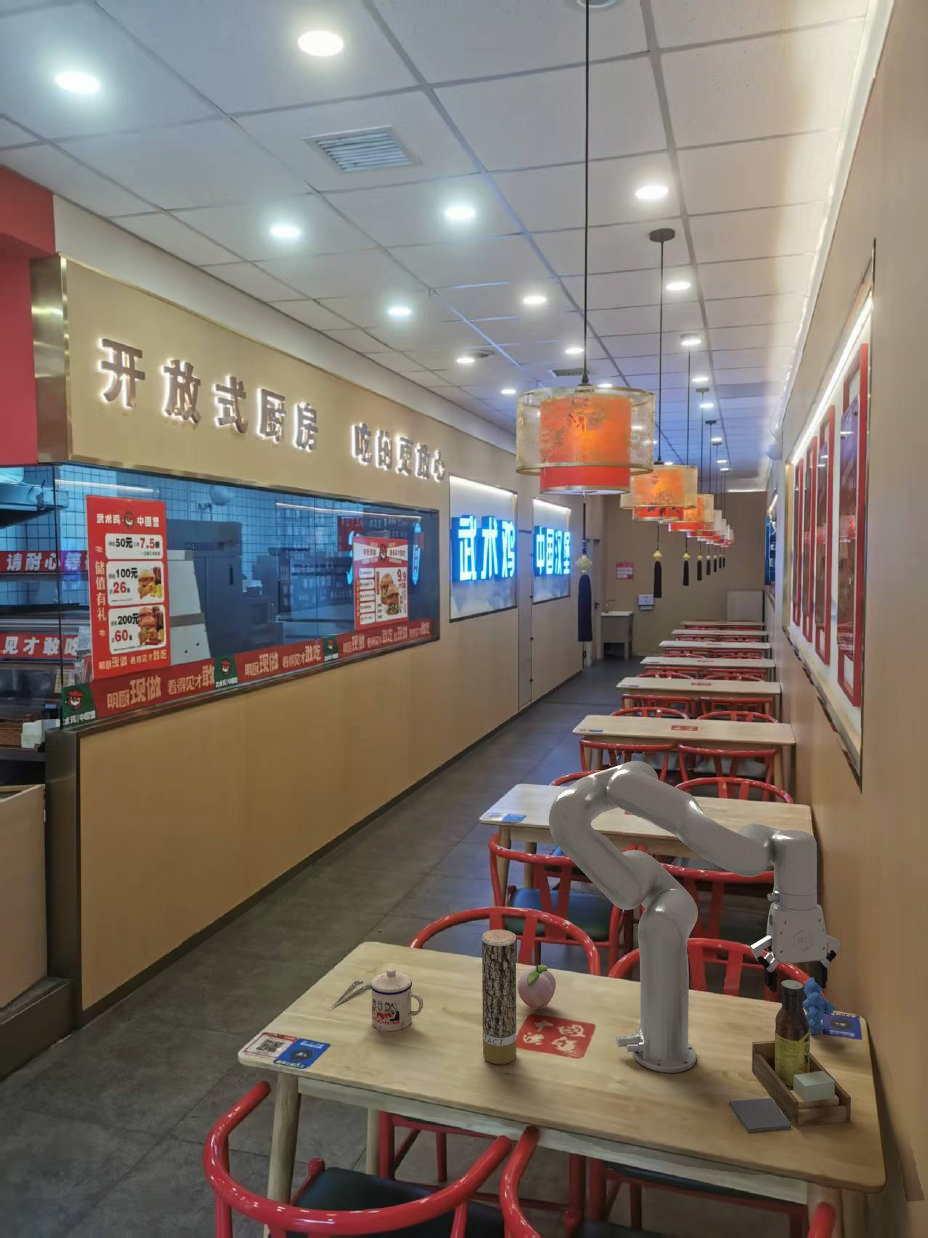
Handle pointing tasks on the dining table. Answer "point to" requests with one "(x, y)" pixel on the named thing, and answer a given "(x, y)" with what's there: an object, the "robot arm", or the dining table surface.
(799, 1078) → the offcut top
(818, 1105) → the plate
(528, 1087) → the dining table surface
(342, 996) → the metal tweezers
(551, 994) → the decorative fruit
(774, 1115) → the mat
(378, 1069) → the dining table surface
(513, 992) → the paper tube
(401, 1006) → the teacup with lid
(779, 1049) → the sauce bottle
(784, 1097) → the wooden tray
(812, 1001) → the grapes
